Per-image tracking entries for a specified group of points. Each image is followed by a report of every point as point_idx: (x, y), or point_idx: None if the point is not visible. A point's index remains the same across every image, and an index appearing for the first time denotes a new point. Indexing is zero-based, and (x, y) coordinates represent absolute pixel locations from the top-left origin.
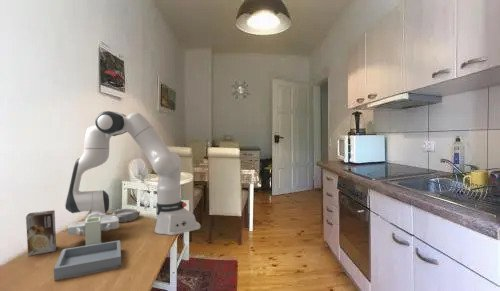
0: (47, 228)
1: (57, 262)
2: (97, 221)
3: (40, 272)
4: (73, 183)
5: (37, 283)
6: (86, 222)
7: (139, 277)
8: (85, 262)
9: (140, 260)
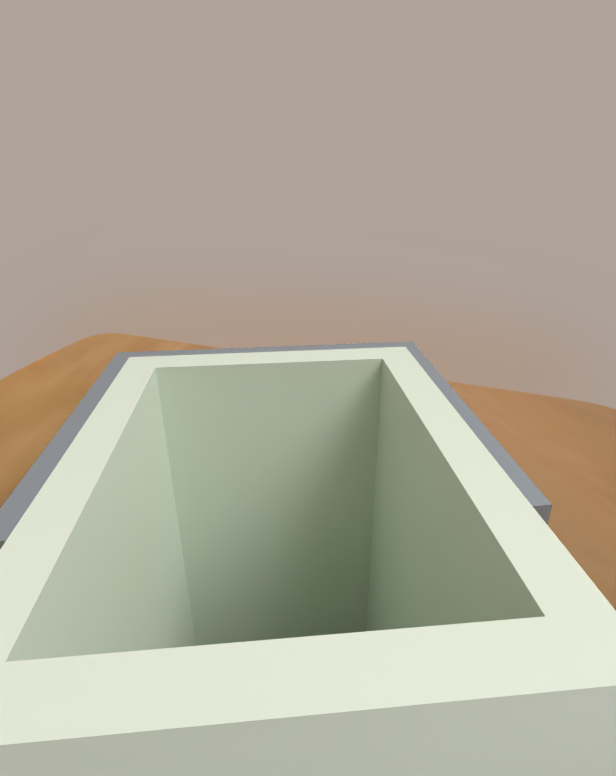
0: None
1: (432, 370)
2: (176, 360)
3: (547, 460)
4: None
5: (472, 394)
6: (383, 353)
7: (96, 355)
8: (284, 348)
9: (7, 433)
